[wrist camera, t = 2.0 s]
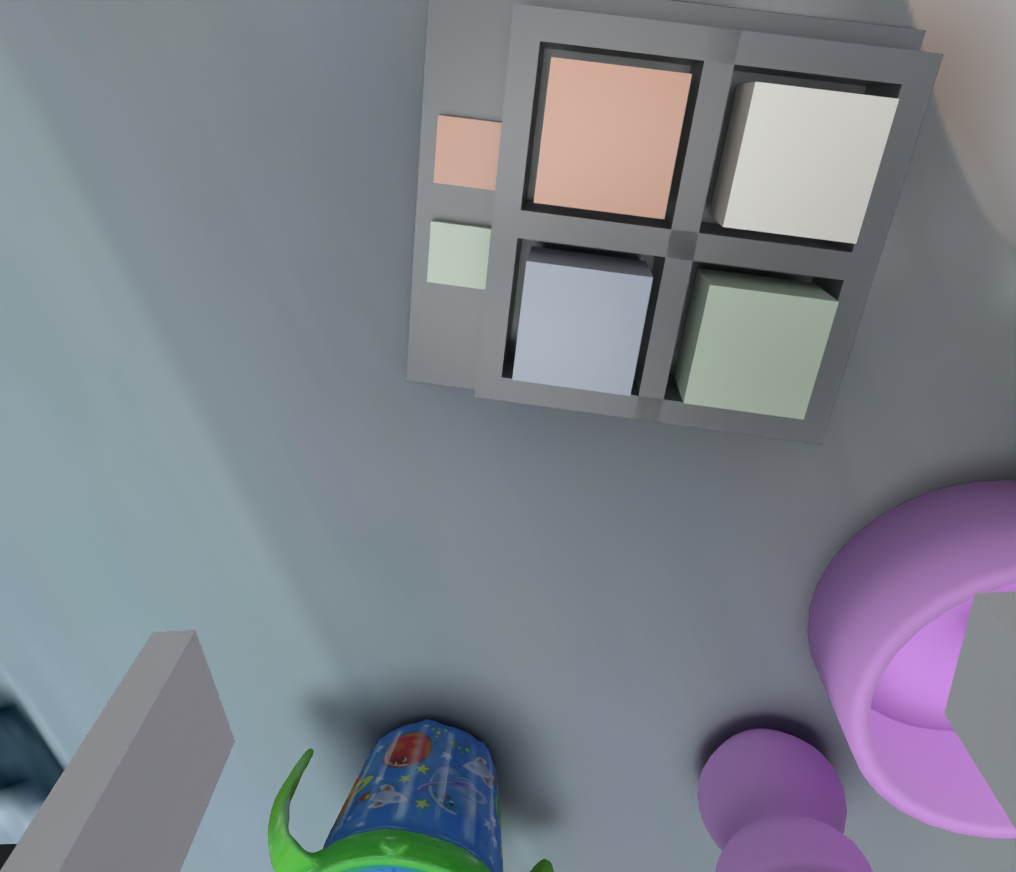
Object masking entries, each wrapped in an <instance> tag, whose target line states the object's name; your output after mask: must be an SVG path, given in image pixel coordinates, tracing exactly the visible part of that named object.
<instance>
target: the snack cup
mask: <svg viewBox="0 0 1016 872" xmlns="http://www.w3.org/2000/svg"><path fill="white" fill-rule="evenodd" d="M312 755H313V749H309V750H307V751H306V752H305V754H304V755H303V756H302V757H301V759H300V760H299V761H298V763H297V764H296V766H295V767H294V769H293V770H292V772H291V773H290V775H289V777H288V778H287V780H286V781H285V783H284V784H283V786H282V787H281V789H280V791H279V793H278V795H277V797H276V799H275V801H274V804H273V807H272V810H271V814H270V820H269V825H268V826H269V828H268V845H269V855H270V859H271V863H272V867H273V869H274V871H275V872H503V855H502V847H501V844H502V840H501V821H500V805H499V787H498V781H497V774H496V769H495V766H494V764H493V762H492V759H491V755H490V750H489V749H488V748H487V747H486V745H485V744H484V742H479V741H478V740H476V739H475V738H474V737H473V736H471V735H470V734H469V733H468V732H465V731H462V730H460V729H458V728H455V727H451V726H447V725H443V724H441V723H439V722H437V721H432V720H429V719H425V720H423V721H421V722H418V723H412V724H409V725H405V726H402V727H400V728H398V729H395V730H393V731H391V732H390V733H388V734H387V735H385V736H384V737H383V738H380V739H379V740H378V743H377V744H376V745H375V746H374V748H373V750H372V751H371V753H370V755H369V757H368V759H367V760H366V762H365V765H364V767H363V769H362V771H361V773H360V775H359V777H358V779H357V780H356V782H355V783H354V786H353V788H352V790H351V792H350V794H349V796H348V798H347V800H346V801H345V803H344V805H343V807H342V809H341V811H340V813H339V815H338V817H337V819H336V822H335V824H334V826H333V827H332V829H331V831H330V833H329V836H328V838H327V840H326V842H325V844H324V847H323V849H322V850H320V851H318V852H315V853H310V852H307V851H306V850H304V849H303V848H302V847H301V846H300V844H299V843H298V842H297V841H296V840H295V839H294V838H293V837H292V836H291V835H290V833H289V830H288V823H289V807H290V801H291V799H292V797H293V795H294V792H295V790H296V788H297V785H298V783H299V781H300V778H301V776H302V774H303V771H304V770H305V768H306V767H307V765H308V763H309V761H310V759H311V757H312ZM531 872H554V871H553V867H552V864H551V862H549V861H548V860H546V859H543V860H541V861H540V862H538V863H537V864H536V865H535V866H534V867H533V869H532V870H531Z"/></svg>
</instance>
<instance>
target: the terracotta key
mask: <svg viewBox="0 0 1016 872" xmlns="http://www.w3.org/2000/svg"><path fill="white" fill-rule="evenodd" d="M691 77H692V74H689V73H680V72H672V71H664V70H655V69H647V68H639V67H630V66H622V65H614V64H606V63H597V62H589V61H581V60H572V59H564V58H556V57H551V62H550V71H549V79H548V87H547V95H546V104H545V112H544V120H543V128H542V137H541V145H540V153H539V162H538V170H537V178H536V186H535V195H534V203H540V204H547V205H555V206H563V207H571V208H579V209H587V210H594V211H602V212H610V213H618V214H626V215H634V216H641V217H649V218H657V219H664V218H665V213H666V208H667V203H668V197H669V192H670V187H671V182H672V177H673V171H674V166H675V161H676V156H677V150H678V145H679V140H680V135H681V130H682V124H683V119H684V114H685V109H686V104H687V98H688V93H689V88H690V83H691Z"/></svg>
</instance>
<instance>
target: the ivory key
mask: <svg viewBox="0 0 1016 872" xmlns="http://www.w3.org/2000/svg"><path fill="white" fill-rule="evenodd" d="M898 102H899V99H896V98H888V97H880V96H871V95H863V94H855V93H846V92H838V91H830V90H822V89H813V88H805V87H797V86H788V85H780V84H772V83H763V82H748V83H740V84H737V89H736V94H735V98H734V103H733V107H732V112H731V117H730V121H729V126H728V131H727V135H726V140H725V145H724V149H723V154H722V159H721V163H720V168H719V172H718V177H717V182H716V186H715V191H714V196H713V200H712V205H711V210H710V214H709V215H710V216H711V217H712V218H713V219H714V220H716V221H717V222H718V223H719V224H720V225H721V226H722V227H728V228H735V229H743V230H751V231H759V232H767V233H775V234H782V235H790V236H798V237H806V238H814V239H822V240H829V241H837V242H845V243H853V244H856V243H857V239H858V236H859V233H860V229H861V226H862V223H863V219H864V216H865V212H866V209H867V206H868V202H869V199H870V196H871V192H872V189H873V186H874V182H875V179H876V176H877V172H878V169H879V166H880V162H881V159H882V155H883V152H884V149H885V145H886V142H887V139H888V135H889V132H890V129H891V125H892V122H893V119H894V115H895V112H896V108H897V105H898Z"/></svg>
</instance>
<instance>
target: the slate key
mask: <svg viewBox="0 0 1016 872" xmlns="http://www.w3.org/2000/svg"><path fill="white" fill-rule="evenodd" d="M652 281H653V276H652V274H651V271H650V269H649V266H648V264H647V261H641V260H633V259H625V258H617V257H610V256H602V255H594V254H587V253H579V252H571V251H564V250H556V249H548V248H540V247H533V246H532V247H531V250H530V252H529V255H528V258H527V261H526V269H525V277H524V286H523V294H522V302H521V310H520V319H519V327H518V335H517V344H516V352H515V360H514V368H513V377H512V380H517V381H524V382H531V383H539V384H546V385H553V386H561V387H568V388H575V389H583V390H590V391H597V392H605V393H612V394H619V395H627V396H631V390H632V385H633V380H634V375H635V369H636V364H637V359H638V354H639V349H640V343H641V338H642V333H643V328H644V323H645V317H646V312H647V307H648V302H649V296H650V291H651V286H652Z"/></svg>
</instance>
